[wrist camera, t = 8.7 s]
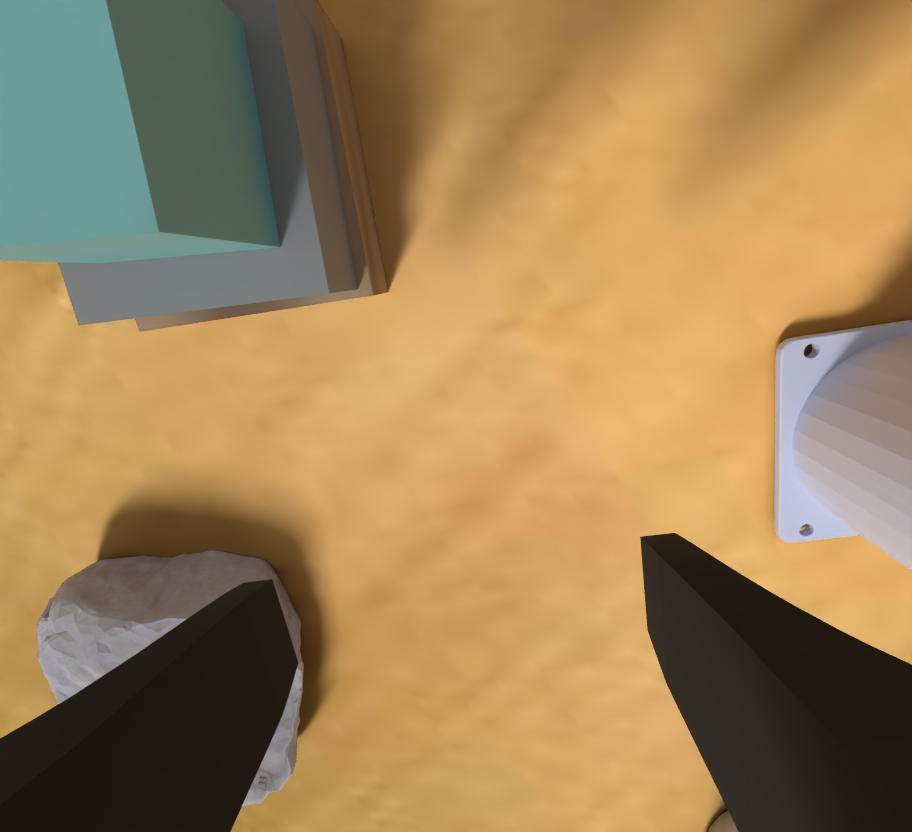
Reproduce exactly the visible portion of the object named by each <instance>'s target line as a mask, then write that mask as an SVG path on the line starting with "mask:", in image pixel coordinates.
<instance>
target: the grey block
mask: <svg viewBox="0 0 912 832" xmlns="http://www.w3.org/2000/svg"><path fill="white" fill-rule="evenodd" d="M221 1H222V2H223V3H224V4H225V5H226V6H227V7H228V8H229V9H230V10H231V11H232V12H233V13H234V14H235V15H236V16H237V17H238V18H239V19H240V20H241V21H242V22H243V25H244V31H245V37H246V43H247V49H248V55H249V61H250V67H251V73H252V79H253V85H254V91H255V97H256V103H257V109H258V115H259V121H260V127H261V133H262V139H263V145H264V151H265V157H266V163H267V169H268V175H269V181H270V187H271V193H272V199H273V204H274V210H275V216H276V222H277V228H278V234H279V240H280V246H281V247H279V248H268V249H257V250H245V251H234V252H223V253H212V254H201V255H189V256H178V257H167V258H156V259H145V260H133V261H122V262H111V263H70V262H58V264H59V267H60V270H61V273H62V276H63V279H64V282H65V285H66V288H67V291H68V294H69V297H70V300H71V303H72V306H73V309H74V312H75V315H76V319H77V322H78V325H85V324H93V323H101V322H109V321H116V320H124V319H132V318H140V317H148V316H156V315H164V314H172V313H179V312H187V311H195V310H203V309H211V308H219V307H227V306H235V305H242V304H250V303H258V302H266V301H274V300H282V299H290V298H298V297H305V296H313V295H321V294H329V293H336V292H343V291H350V290H357V289H358V285H357V279H356V274H355V268H354V262H353V256H352V250H351V244H350V239H349V233H348V227H347V221H346V215H345V210H344V204H343V198H342V192H341V186H340V180H339V175H338V169H337V163H336V157H335V151H334V146H333V140H332V134H331V128H330V122H329V116H328V111H327V105H326V99H325V93H324V87H323V82H322V76H321V70H320V64H319V58H318V53H317V47H316V41H315V35H314V30H313V29H312V27H311V26H310V24H309V23H308V22H307V20H306V19H305V17H304V16H303V15H302V13H301V12H300V10H299V9H298V8H297V6H296V5H295V4H294V2H293V1H292V0H221Z"/></svg>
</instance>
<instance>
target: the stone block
mask: <svg viewBox="0 0 912 832" xmlns="http://www.w3.org/2000/svg"><path fill="white" fill-rule="evenodd" d="M269 579H273V582H274V586H275V589H276V592H277V595H278V599H279V602H280V605H281V608H282V611H283V615H284V618H285V621H286V624H287V627H288V631H289V634H290V637H291V640H292V643H293V647H294V650H295V653H296V656H297V659H298V666H297V670H296V673H295V677H294V680H293V684H292V687H291V691H290V694H289V697H288V700H287V703H286V706H285V709H284V712H283V715H282V717H281V720H280V722H279V725H278V727H277V729H276V731H275V734H274V736H273V738H272V740H271V743H270V745H269V747H268V749H267V752H266V754H265V756H264V759H263V761H262V763H261V765H260V767H259V770H258V772H257V774H256V776H255V778H254V781H253V783H252V785H251V787H250V789H249V792H248V794H247V796H246V798H245V800H244V803H243V805H242V807H243V806H246V805H250V804H258V803H262V802H264V800H265V798H266V796H267V794H268V793H270V792H275V791H279V790H281V789H282V788H283V786H284V784H285V782H286V781H287V780H288V778H289V777H290V776H291V774H292V773H293V770H294V767H295V763H296V756H297V734H298V732H297V729H298V726H299V723H300V717H299V709H300V703H301V697H302V695H303V671H304V664H303V662H302V658H301V653H300V646H301V638H300V630H301V621H300V616H299V615H298V613H297V612H296V611H295V609H294V607H293V605H292V603H291V601H290V598H289V596H288V594H287V592H286V590H285V589H284V587H283V585H282V584H281V581H280V579H279V577H278V575H277V574H276V573H275V571H274V570H273V568H272V567H271V566H270V565H269V564H268V563H267V562H266V561H265V560H263V559H259V558H256V557H246V556H241V555H236V554H231V553H228V552H221V551H216V550H210V551H206V552H200V553H193V554H186V553H183V554H181V555H178V556H176V557H173V558H170V557H160V558H159V557H154V556H136V557H125V558H115V559H104V560H100V561H97V562H95V563H93V564H91V565H90V566H88V567H86V568H85V569H83V570H81V571H80V572H78V573H76V574H75V575H73V576H71V577H69V578H68V579H66V580H65V581H64V582H63V583H62V584H61V586H60V588H59V589H58V590H57V593H56V595H55V596H54V597H53V598H51V599H50V600H49V602H48V605H47V607H46V609H45V610H44V612H43V614H42V615H41V617H40V619H39V621H38V623H37V628H36V629H37V638H38V642H39V650H38V654H37V657H38V660H39V662H40V664H41V666H42V670H43V674H44V675H45V677H46V679H47V680H48V682H49V685H50V689H51V690H52V692H53V693H54V696H55V698H56V701H57V703H58V704H60V703H62V702H63V701H65V700H66V699H68V698H70V697H71V696H73V695H74V694H76V693H77V692H79V691H80V690H82V689H84V688H85V687H87V686H88V685H90V684H91V683H93V682H94V681H96V680H97V679H99V678H100V677H102V676H103V675H105V674H106V673H108V672H109V671H111V670H113V669H114V668H116V667H117V666H119V665H120V664H122V663H123V662H125V661H126V660H128V659H129V658H131V657H132V656H134V655H135V654H137V653H138V652H140V651H141V650H143V649H144V648H146V647H147V646H149V645H150V644H151V643H153V642H154V641H156V640H157V639H159V638H160V637H162V636H163V635H164V634H166V633H167V632H169V631H170V630H172V629H173V628H175V627H176V626H177V625H179V624H180V623H182V622H183V621H185V620H186V619H188V618H189V617H190V616H192V615H193V614H195V613H196V612H198V611H199V610H201V609H202V608H204V607H205V606H207V605H208V604H210V603H211V602H213V601H214V600H216V599H217V598H219V597H220V596H222V595H223V594H225V593H226V592H228V591H230V590H231V589H233V588H235V587H237V586H239V585H240V584H242V583H244V582H252V581H261V580H269Z"/></svg>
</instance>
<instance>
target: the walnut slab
mask: <svg viewBox="0 0 912 832" xmlns="http://www.w3.org/2000/svg"><path fill="white" fill-rule="evenodd" d="M293 2H294V4H295V5H296V6H297V8H298V9H299V10H300V12H301V13H302V15H303V16H304V17H305V19H306V20H307V22H308V23H309V24H310V26H311V27H312V29H313V30H314V35H315V41H316V47H317V53H318V58H319V64H320V70H321V76H322V82H323V87H324V93H325V99H326V105H327V111H328V116H329V122H330V128H331V134H332V140H333V146H334V151H335V157H336V163H337V169H338V175H339V180H340V186H341V192H342V198H343V204H344V210H345V215H346V221H347V227H348V233H349V239H350V244H351V250H352V256H353V262H354V268H355V274H356V279H357V285H358V289H357V290H350V291H343V292H336V293H329V294H321V295H313V296H305V297H298V298H290V299H282V300H274V301H266V302H258V303H250V304H242V305H235V306H227V307H219V308H211V309H203V310H195V311H187V312H179V313H172V314H164V315H156V316H148V317H140V318H135V320H136V323H137V326H138V329H139V332H141V331H147V330H154V329H160V328H167V327H173V326H179V325H186V324H192V323H199V322H205V321H211V320H218V319H224V318H231V317H237V316H244V315H250V314H256V313H263V312H269V311H276V310H282V309H288V308H295V307H301V306H308V305H314V304H321V303H327V302H333V301H340V300H346V299H353V298H359V297H365V296H372V295H377V294H381V293H386V292H388V288H387V282H386V277H385V272H384V266H383V261H382V255H381V250H380V244H379V239H378V233H377V228H376V222H375V217H374V211H373V206H372V201H371V195H370V190H369V184H368V179H367V173H366V168H365V162H364V157H363V151H362V146H361V140H360V135H359V129H358V124H357V119H356V113H355V108H354V102H353V97H352V91H351V86H350V80H349V75H348V69H347V64H346V58H345V53H344V48H343V42H342V38H341V37H340V35H339V33H338V32H337V30H336V29H335V27H334V25H333V24H332V22H331V21H330V19H329V17H328V16H327V14H326V13H325V11H324V9H323V8H322V6H321V5H320V3H319V1H318V0H297V1H293Z"/></svg>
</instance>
